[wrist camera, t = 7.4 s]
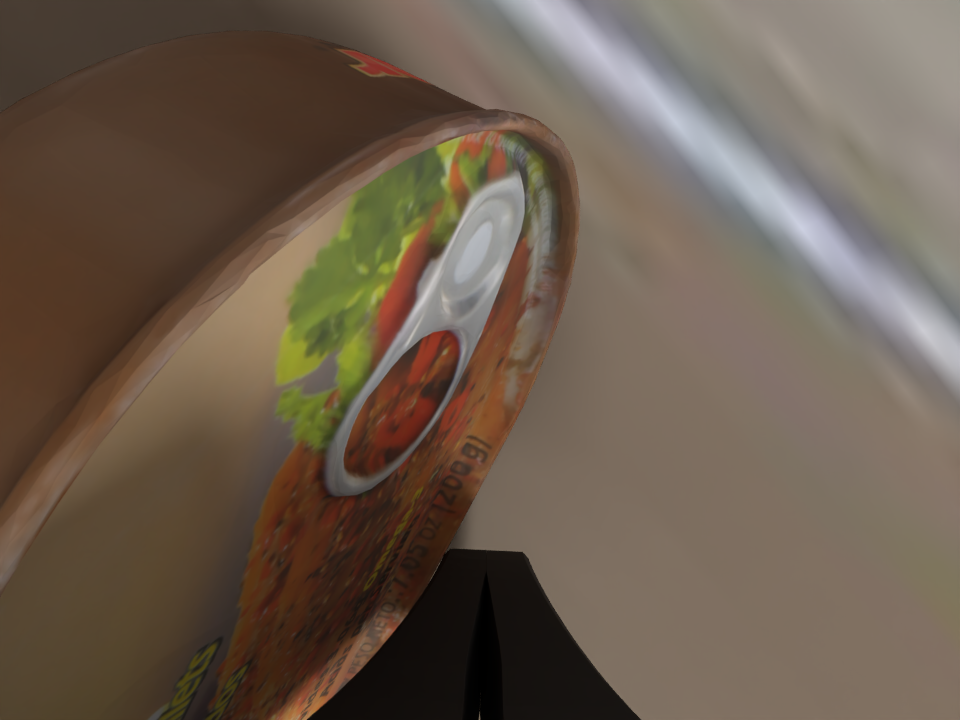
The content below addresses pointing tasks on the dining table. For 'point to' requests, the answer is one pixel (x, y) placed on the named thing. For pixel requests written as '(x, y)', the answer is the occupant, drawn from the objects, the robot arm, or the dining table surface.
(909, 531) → the dining table surface
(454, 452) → the tin
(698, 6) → the dining table surface
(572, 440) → the dining table surface
